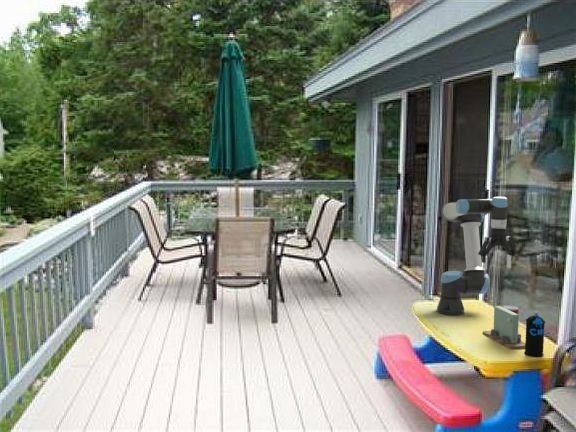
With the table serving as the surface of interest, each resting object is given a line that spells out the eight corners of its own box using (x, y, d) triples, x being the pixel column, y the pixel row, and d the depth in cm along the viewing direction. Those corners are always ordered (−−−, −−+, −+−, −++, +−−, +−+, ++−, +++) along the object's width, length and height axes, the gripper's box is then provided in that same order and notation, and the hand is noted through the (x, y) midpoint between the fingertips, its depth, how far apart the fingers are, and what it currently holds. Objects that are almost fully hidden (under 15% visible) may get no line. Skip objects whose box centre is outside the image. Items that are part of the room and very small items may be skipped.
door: (491, 333, 296) (492, 306, 294) (498, 332, 297) (499, 305, 295) (509, 343, 281) (510, 315, 279) (517, 343, 281) (518, 314, 280)
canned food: (518, 330, 305) (519, 309, 304) (502, 329, 307) (503, 308, 305) (516, 325, 312) (517, 305, 311) (500, 324, 314) (501, 304, 313)
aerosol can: (521, 351, 274) (522, 309, 271) (537, 350, 274) (539, 309, 272) (529, 357, 266) (531, 314, 263) (547, 356, 266) (549, 314, 264)
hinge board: (482, 333, 300) (483, 325, 299) (500, 332, 302) (500, 324, 301) (510, 349, 276) (510, 340, 276) (529, 347, 278) (529, 339, 278)
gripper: (480, 229, 293) (478, 271, 295) (524, 227, 298) (522, 268, 300) (472, 227, 300) (471, 267, 302) (516, 225, 305) (514, 265, 308)
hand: (496, 268), depth 301 cm, fingers open, 13 cm apart
